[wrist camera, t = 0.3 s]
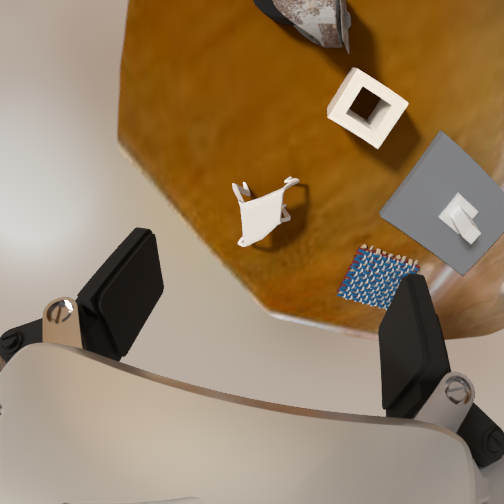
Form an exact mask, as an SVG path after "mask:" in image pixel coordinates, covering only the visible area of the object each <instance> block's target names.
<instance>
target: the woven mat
mask: <svg viewBox="0 0 504 504" xmlns="http://www.w3.org/2000/svg"><path fill="white" fill-rule="evenodd" d="M365 248H367V246H366V244H364V245H362V246H361V247H359V248H358V251H357V250H356V252H355V253H357V255H355V256H354V258H355V259H354V260H352V263H353V264H351V265H350V267H348V270H350V271H349V272H347V273H346V274H347V275H345V276H344V278H346V279H343V283H341V287H340V286H339V289H337V292H339V293H338V294H337V296H339V297H340V296H343V298H346V300H347V299H349V298H350V300H351V299H354V300H355V302H356V301H359V302H362V304H363V303H365V304H366V303H367V305H369V304H371V307H372V305H374V306H379V309H380V308H382V307H383V308H382V309H384V308H386V309H385V310H387V309H388V308H389V305H390V303H391V301H392V299H393V297H394V295H395V293H396V290H397V288H398V286H399V284H400V281H401V279H402V277H403V276H407V275H408V274H409V273H413V274H416V272H417V271H418V269H419V268H420V266H418V265H417V264H418V260H416V261H415V262H414V263H413V260H412V259H409V261H408V260H407V261H405V259H406V256H403V257H402V259H401V257H400V255H396V257H395V258H394V257H393V254H391V253H390V254H389V255H386V253H387V252H385V251H383V253H381V249H377V250H375V251H373V248H374V246H371V248H370V249H369V250H368V249H365ZM400 259H401V260H400ZM370 297H371V298H370ZM357 298H358V299H357Z"/></svg>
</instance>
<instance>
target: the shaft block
mask: <svg viewBox="0 0 504 504" xmlns="http://www.w3.org/2000/svg"><path fill="white" fill-rule="evenodd" d="M379 213H380V217H382V218H383V219H385V220H386V221H388V222H389V223H391V224H392V225H394V226H395V227H397V228H398V229H400V230H401V231H403V232H404V233H406V234H407V235H409V236H410V237H411V238H413V239H414V240H416V241H417V242H418V243H420V244H421V245H423V246H424V247H425V248H427V249H428V250H430V251H431V252H432V253H434V254H435V255H436V256H438V257H439V258H440V259H442V260H443V261H444V262H446V263H447V264H448V265H450V266H451V267H452V268H454V269H455V270H456V271H457V272H459V273H460V274H461V275H464V274H465V273H466V272H467V271H468V270H469V269H470V268H471V267H472V266H473V265H474V264H475V263H476V262H477V261H478V260H479V259H480V258H481V257H482V255H483V254H484V253H485V252H486V251H487V250H488V249H489V248H490V247H491V246H492V245H493V244H494V242H495V241H496V240H497V239H498V238H499V237H500V236H501V235H502V233H503V232H504V192H503V191H502V189H501V188H500V187H499V186H498V185H497V184H496V183H495V182H494V181H493V180H492V178H491V177H490V176H489V175H488V174H487V173H486V172H485V171H484V170H483V169H482V168H481V167H480V166H479V165H478V164H477V163H476V162H475V161H474V160H473V159H472V158H471V157H470V156H469V155H468V154H467V153H466V152H465V151H464V150H462V149H461V148H460V147H459V146H458V145H457V144H456V143H455V142H454V141H453V140H452V139H450V138H449V137H448V136H447V135H446V134H445V133H444V132H442V131H441V130H440V131H439V133H438V134H437V135H436V137H435V138H434V140H433V141H432V143H431V144H430V145H429V147H428V148H427V150H426V151H425V152H424V154H423V155H422V157H421V158H420V159H419V161H418V162H417V163H416V165H415V166H414V167H413V169H412V170H411V171H410V173H409V174H408V175H407V177H406V178H405V179H404V181H403V182H402V183H401V185H400V186H399V187H398V189H397V190H396V191H395V193H394V194H393V195H392V196H391V198H390V199H389V200H388V202H387V203H386V204H385V205H384V207H383V208H382V209H381V210H380V212H379Z"/></svg>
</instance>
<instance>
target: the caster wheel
mask: <svg viewBox="0 0 504 504" xmlns="http://www.w3.org/2000/svg"><path fill="white" fill-rule="evenodd" d="M253 1H254V3H255V5H256V6H257V7H258V8H259V9H260V10H261V11H262V12H263V13H264V14H265V15H267V16H268V17H269V18H271V19H272V20H274V21H276V22H279V23H282V24H286V25H293V26H294V27H295V28H296V29H297V30H298V31H299V32H300V33H301V34H302V35H304V36H305V37H306V38H308V39H309V40H311V41H312V42H314V43H316V44H318V45H320V46H322V47H324V48H342V45H343V42H344V44H345V47H346V49H347V52H348V54H349V35H348V28H350V26H351V17H350V13H349V12H348V11H347V5H346V1H345V0H340V2H339V0H253Z"/></svg>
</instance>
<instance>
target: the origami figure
mask: <svg viewBox="0 0 504 504" xmlns="http://www.w3.org/2000/svg"><path fill="white" fill-rule="evenodd" d="M299 181H300V180H299V179H297V178H295V179H292V177H289V178H287V179H286V180H285V181H284V183H288V184H286V185H285V186H284V187H283V188H281V189H279V190H276V191H274V192H272V193H270V194H267V195H265V196H263V197H260V198H257V199H254V200H251V201H248V202H245V203H244V201H243V199H242V197H241V194H240V193H242V194H244V195H246V196H250V191H249V189H248V187H247V185H246V182H243V187H244V188H242V187H240V186H239V185H237V184H234V183H232V186H233V191H234V193H235V195H236V196H237V198H238V202H239V205H240V208H241V219H242V230H243V236H242V238H241V239H240V240H239V241H238V245H240V246H242V247H246V246H249V245H251V244H253V243H255V242H257V241H259V240H261V239H263V238H264V237H265V236H266V235H267V234H268V233H270V232H271V231H272V230H273V229H274V228H275V227H276V226H277V225H278V224H281V223H282V222H286V221H290V218H291V216H290V215H289V214H288V212H287V211H286V209H285V208H284V207H286V205H287V204H284V205H283V206H282V204H283V194H284V190H286V189H287V188H289V187H290V186H292V185H295V184H297V183H299ZM282 212H283V214H284V216H285V218H281V214H282ZM243 241H244V242H243Z"/></svg>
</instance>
